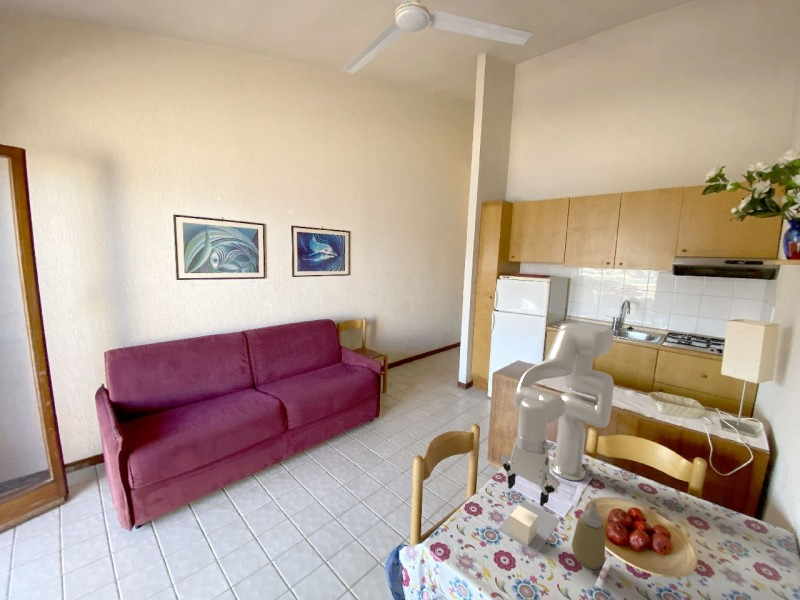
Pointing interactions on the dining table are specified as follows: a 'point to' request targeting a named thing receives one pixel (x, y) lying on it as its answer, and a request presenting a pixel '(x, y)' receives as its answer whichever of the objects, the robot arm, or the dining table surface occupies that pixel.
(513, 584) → the dining table surface
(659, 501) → the dining table surface
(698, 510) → the dining table surface
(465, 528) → the dining table surface
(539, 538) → the plate
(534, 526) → the cream foam brick
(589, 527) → the squeeze bottle
